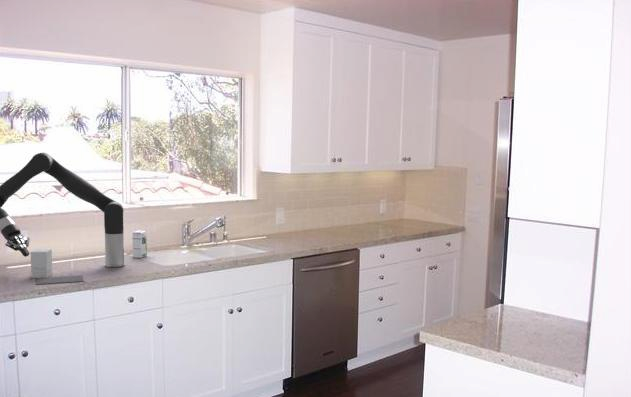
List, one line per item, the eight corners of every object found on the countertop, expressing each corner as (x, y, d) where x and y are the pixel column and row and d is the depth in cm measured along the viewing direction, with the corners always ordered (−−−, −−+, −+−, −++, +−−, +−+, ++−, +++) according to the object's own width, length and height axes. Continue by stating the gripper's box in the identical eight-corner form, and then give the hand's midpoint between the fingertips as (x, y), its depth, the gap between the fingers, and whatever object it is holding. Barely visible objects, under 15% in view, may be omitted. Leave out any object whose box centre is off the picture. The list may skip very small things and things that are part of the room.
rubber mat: (82, 276, 283) (82, 275, 283) (83, 281, 272) (83, 280, 272) (36, 278, 275) (36, 278, 275) (35, 284, 264) (35, 284, 264)
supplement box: (53, 274, 284) (52, 248, 283) (46, 278, 277) (46, 251, 275) (37, 274, 284) (37, 248, 282) (30, 278, 276) (30, 251, 275)
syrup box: (141, 258, 328) (141, 232, 327) (132, 257, 329) (132, 231, 328) (146, 256, 334) (146, 230, 332) (137, 255, 335) (137, 230, 333)
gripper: (0, 224, 278) (19, 252, 275) (23, 221, 291) (42, 248, 287) (-8, 235, 281) (11, 262, 278) (15, 231, 293) (34, 257, 290)
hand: (27, 255), depth 283 cm, fingers closed
